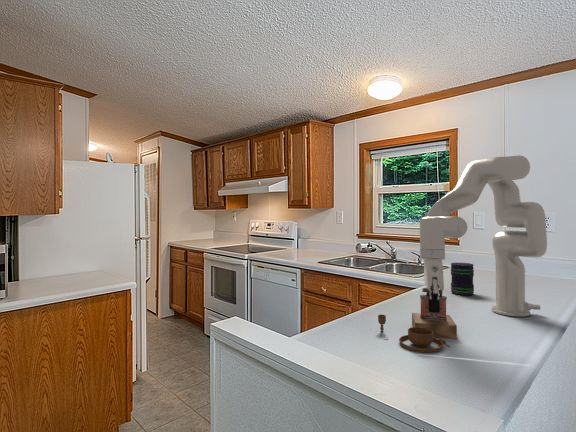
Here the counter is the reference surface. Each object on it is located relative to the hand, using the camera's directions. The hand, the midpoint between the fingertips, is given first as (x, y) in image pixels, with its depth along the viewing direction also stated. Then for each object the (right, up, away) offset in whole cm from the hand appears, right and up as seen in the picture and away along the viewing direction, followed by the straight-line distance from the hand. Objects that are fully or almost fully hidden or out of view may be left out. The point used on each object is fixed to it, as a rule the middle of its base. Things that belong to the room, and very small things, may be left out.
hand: (433, 309), depth 113 cm
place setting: (-9, -8, -9) cm, 15 cm away
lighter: (0, -3, 0) cm, 3 cm away
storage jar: (+36, -7, +51) cm, 63 cm away
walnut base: (0, -7, 0) cm, 7 cm away
